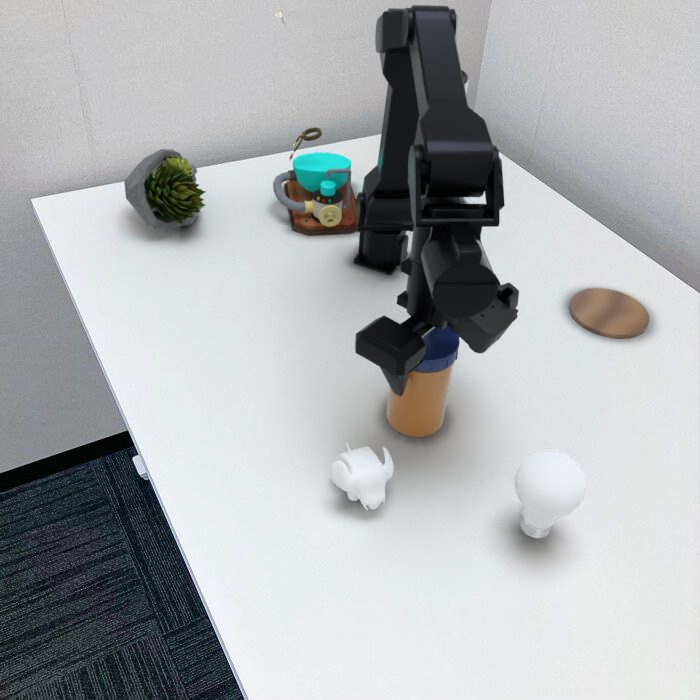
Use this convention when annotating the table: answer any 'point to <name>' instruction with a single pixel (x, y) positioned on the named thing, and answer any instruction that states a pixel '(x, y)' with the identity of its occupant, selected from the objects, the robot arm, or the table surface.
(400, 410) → the jar
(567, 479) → the light bulb
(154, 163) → the potted plant
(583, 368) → the table surface
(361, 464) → the elephant figurine
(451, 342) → the jar lid
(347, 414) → the table surface
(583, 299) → the coaster
